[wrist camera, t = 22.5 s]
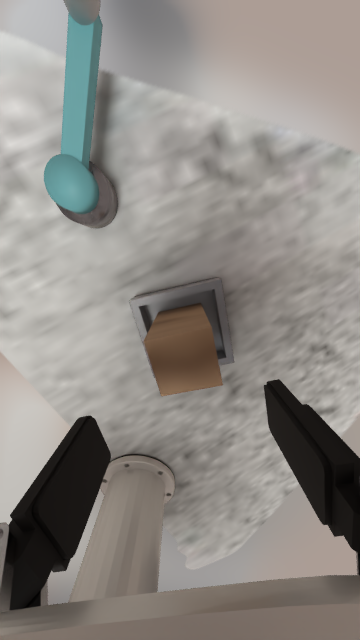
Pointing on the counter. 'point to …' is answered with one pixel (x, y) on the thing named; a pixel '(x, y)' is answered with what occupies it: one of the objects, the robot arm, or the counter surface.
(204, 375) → the block
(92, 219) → the base
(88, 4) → the crank
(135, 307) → the tray
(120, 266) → the counter surface
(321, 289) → the counter surface
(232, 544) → the counter surface
